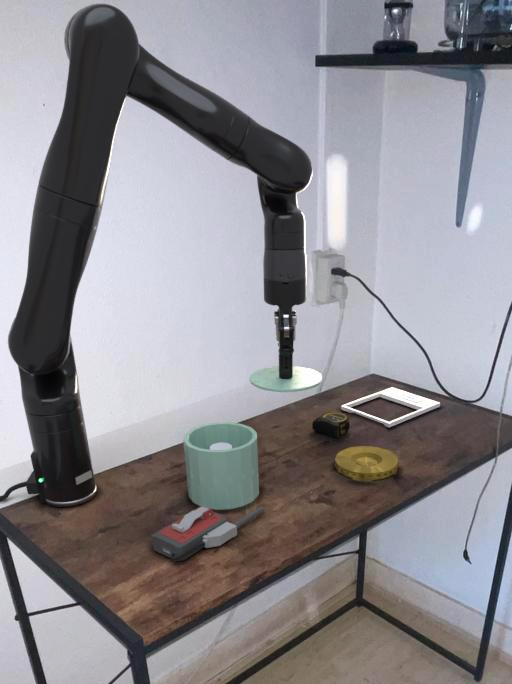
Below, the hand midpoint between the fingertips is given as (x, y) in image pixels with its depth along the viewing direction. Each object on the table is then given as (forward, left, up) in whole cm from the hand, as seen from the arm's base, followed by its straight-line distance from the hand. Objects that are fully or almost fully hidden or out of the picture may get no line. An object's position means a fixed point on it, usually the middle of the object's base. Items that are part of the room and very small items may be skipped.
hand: (285, 370), depth 128 cm
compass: (+15, -6, -18) cm, 25 cm away
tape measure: (+10, +11, -18) cm, 24 cm away
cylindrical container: (-12, -14, -18) cm, 26 cm away
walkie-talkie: (-14, -28, -18) cm, 36 cm away
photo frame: (+25, +25, -18) cm, 40 cm away
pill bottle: (-12, -14, -18) cm, 26 cm away
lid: (0, 0, -2) cm, 2 cm away
